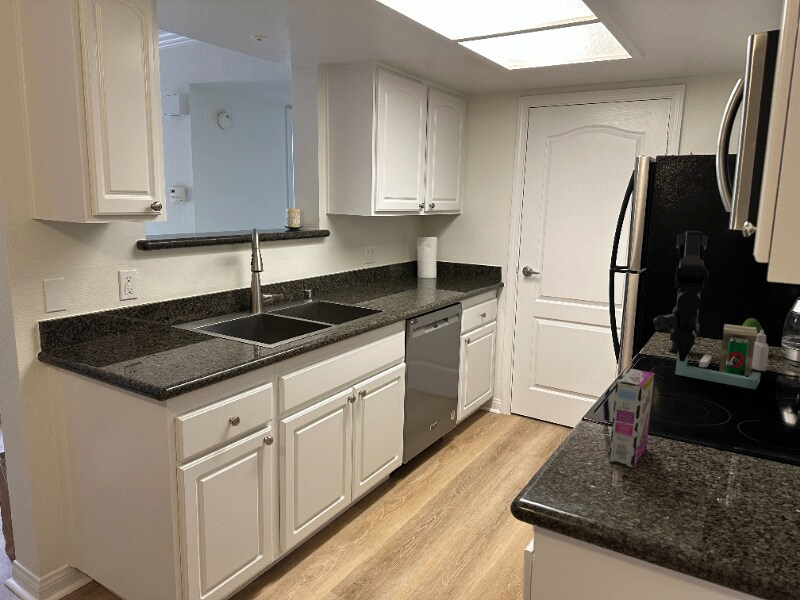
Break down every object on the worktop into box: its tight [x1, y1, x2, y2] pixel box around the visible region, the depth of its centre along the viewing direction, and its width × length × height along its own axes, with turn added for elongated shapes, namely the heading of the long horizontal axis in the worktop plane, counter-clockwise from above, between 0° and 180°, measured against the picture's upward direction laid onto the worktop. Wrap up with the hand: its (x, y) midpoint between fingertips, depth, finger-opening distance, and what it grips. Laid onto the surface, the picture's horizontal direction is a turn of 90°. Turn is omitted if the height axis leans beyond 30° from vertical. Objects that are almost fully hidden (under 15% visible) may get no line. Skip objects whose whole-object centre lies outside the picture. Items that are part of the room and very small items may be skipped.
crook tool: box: [674, 352, 762, 391], centre depth 166 cm, size 9×20×8 cm, turn 53°
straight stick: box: [698, 354, 713, 369], centre depth 182 cm, size 10×2×2 cm, turn 144°
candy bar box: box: [608, 368, 655, 469], centre depth 114 cm, size 11×5×16 cm, turn 145°
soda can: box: [725, 336, 749, 376], centre depth 166 cm, size 5×5×12 cm
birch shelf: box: [718, 323, 757, 377], centre depth 166 cm, size 8×8×14 cm
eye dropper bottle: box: [751, 329, 770, 372], centre depth 176 cm, size 4×6×12 cm
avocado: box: [741, 317, 763, 341], centre depth 194 cm, size 8×8×12 cm
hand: (682, 360), depth 169 cm, fingers closed on crook tool, 3 cm apart
